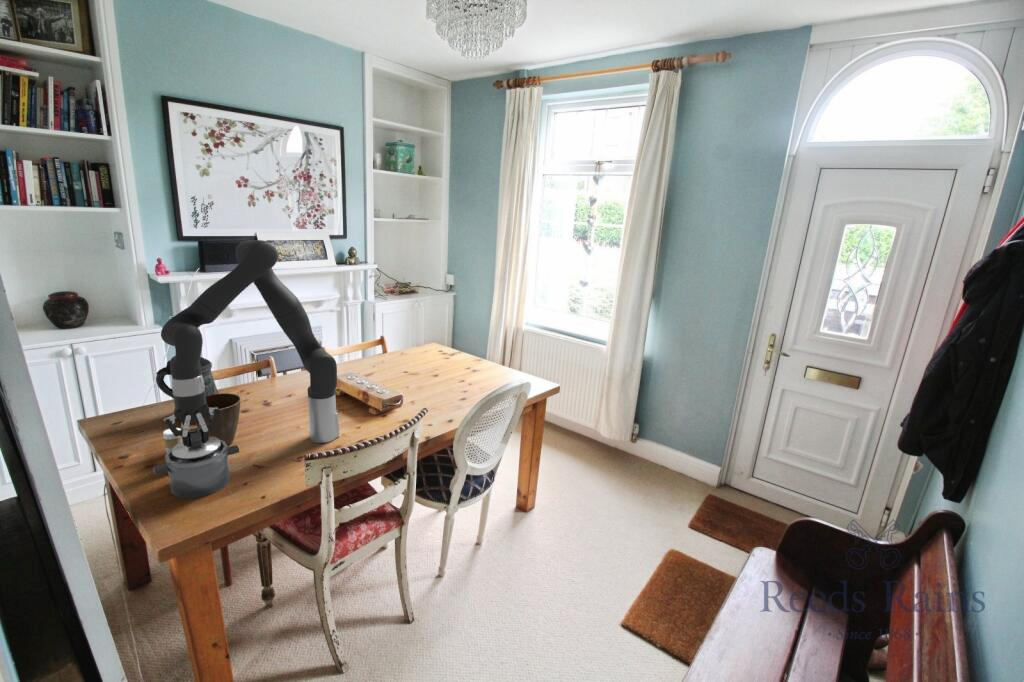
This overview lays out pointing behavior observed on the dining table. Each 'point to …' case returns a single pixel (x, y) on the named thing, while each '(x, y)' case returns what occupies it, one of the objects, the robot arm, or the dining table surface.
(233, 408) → the plant pot
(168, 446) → the sprinkles bottle
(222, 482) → the pot
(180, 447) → the lid
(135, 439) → the dining table surface
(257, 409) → the dining table surface
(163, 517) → the dining table surface
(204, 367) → the beer stein
